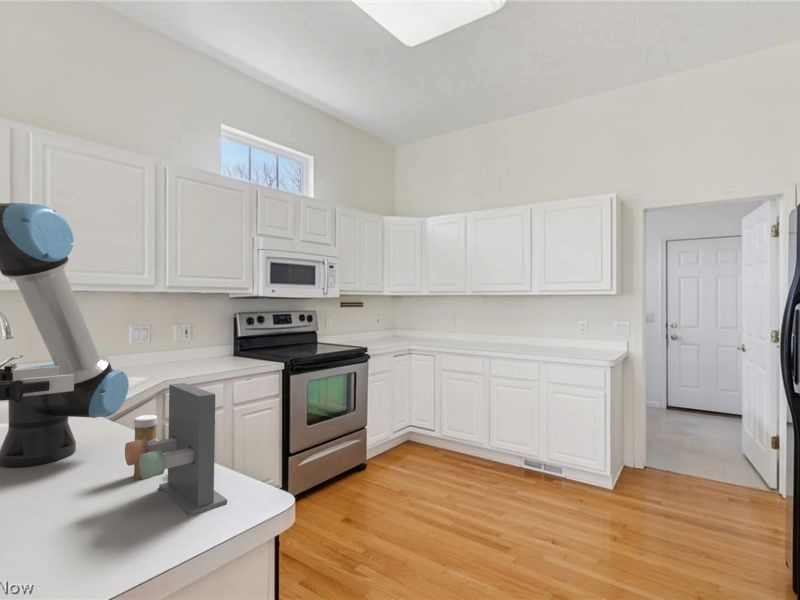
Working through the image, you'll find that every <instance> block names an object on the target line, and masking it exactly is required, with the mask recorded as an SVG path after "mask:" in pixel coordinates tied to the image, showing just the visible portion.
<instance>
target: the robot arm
mask: <svg viewBox="0 0 800 600" xmlns="http://www.w3.org/2000/svg"><path fill="white" fill-rule="evenodd" d="M72 243H74V234H73V231H72V228H71V226H70V224H69V223H68V221H67V219H66V218H65V217H64V216H63V215H62V214H60V212H58V211H56V210H55V209H52V208H51V207H49V206H47V205H43V204H33V203H27V202H13V203H12V202H10V203H9V202H8V203H6V202H5V203H0V273H1V275H2V276H3V277H6V278H8V279H11V280H14V281H15V283H16V285H17V287H18V289H19V292H20V294H21V296H22V298H23V300H24V303H25V304H26V307H27V308H28V311H29V312H30V315H31V317H32V319H33V321H34V324H35V325H36V326H35V327H37V330H38V332H39V334H40V336H41V338H42V341H43V343H44V344H45V347H46V349H47V351H48V354H49V355H50V358H51V360H52V361H53V363H52V364H45V365H44V364H43V365H36V366H30V367H24V368H19V369H12V368H13V366H12V365H4V367H3V368H0V401H1V402H2V401H8V427H7V428H8V429H7V433H6V435H5V438H4V440H3V442H2V444H1V447H0V467H8V468H21V467H31V466H37V465H38V466H39V465H44V464H47V463H52V462H55V461H58V460H62V459H65V458H68V457H69V456H71V455H73V454H74V453H75V452H76V450H77V449H76V448H77V442H76V438H75V436H74V434H73V431H72V429H71V426H70V424H69V417H70V418H71V417H74V418H92V419H95V418H108V417H111V416H112V415H115V413H117V412H118V411H119V410H120V408H121V407H122V406H123V404H124V403H125V401H126V399H127V395H128V393H129V389H130V388H129V386H130V385H129V378H128V376H127V374H126V372H124V371H123V370H120V369H113V368H112V365H111V363H110V360H109V359H108V357H107V356H105V355H101V354H99V352H98V349H97V348H96V346H95V343H94V341H93V338H92V335H91V333H90V330H89V328H88V326H87V324H86V320H85V318H84V316H83V313H82V312H81V308H80V306H79V304H78V301H77V299H76V296H75V294H74V292H73V289H72V286H71V284H70V281H69V278H68V276H67V274H66V271H65V270H64V269H65V267H66V266H67V264H68V263H69V260H70V259H69V257H68V256H69V255H70V254H71V252H72V250H73V248H74V246H73V244H72Z"/></svg>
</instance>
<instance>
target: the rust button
mask: <svg viewBox="0 0 800 600" xmlns="http://www.w3.org/2000/svg"><path fill="white" fill-rule="evenodd" d="M158 450H161V451H162V452H163V454H165V453H168V452H172V451H177V438H175V437H173V438H169V439H168V438H165V439H164V438H163V439H159V440H156V441H154V442H149V443H147V441H146V440H145V439H143V440H138V441H135V440H133V441H129V442H126V443H125V447H124V457H125V462H126V465H127V466H133V465H134V464H138V463H139V458H140V455H141V454H144V453H149V452H153V451H158Z"/></svg>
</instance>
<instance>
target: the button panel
mask: <svg viewBox="0 0 800 600" xmlns="http://www.w3.org/2000/svg"><path fill="white" fill-rule="evenodd" d="M168 387H169V389H168V393H169V394H168V437H167V439H169V438H173V437H175V438H177V451H178V450H182V449H187V448H191V447H192V448H194V449H195V453H194V462H191V463H187V464H183V465H179V466H176V467H172V468H168V469H167V482H163V483H159V485H158V488H159V489H160V490H161V491H162V492H163V493H164V494H165V495H166V494H167V495H166V496H168V498H170V499H171V500H172V501H173V502H174V501H175V502H176V503H175V502H174V503H175V504H177V505H178V506H179V507H180V508H181V510H184V512H185V513H187V514H188V515H189V516H194V514H195V515H197V513H198V514H201V513H203V512H206V511H209V510H213V509H214V508H217V507H221V506H224V505H227V504H228V498H226V497H225V496H224V495H222V494H221V493H219V492H218V491H216V490H215V450H216V449H215V443H216V442H215V441H216V436H215V435H216V432H215V431H216V430H215V429H216V424H215V423H216V394H215V393H213V392H210V391H208V390H205V389H202V388H199V387H196V386H194V385H192V384H191V385H190V384H188V383H185V382H181V383H173V384H172V383H171V384H169V386H168ZM172 452H173V451H172ZM168 453H169V452H168ZM200 512H201V513H200Z"/></svg>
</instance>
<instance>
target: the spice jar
mask: <svg viewBox="0 0 800 600" xmlns="http://www.w3.org/2000/svg"><path fill="white" fill-rule="evenodd" d="M157 425H158V416H157V415H155V414H145V415H144V414H142V415H139V416H137V417H135V418H134V422H133V427H134V441H138V440H143V439H145V440H146V441H147V443H149V442H154V441H157ZM133 470H134V471H133V478H134V479H142V477H141V475H140V471H139V463H138V464H134V466H133Z"/></svg>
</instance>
